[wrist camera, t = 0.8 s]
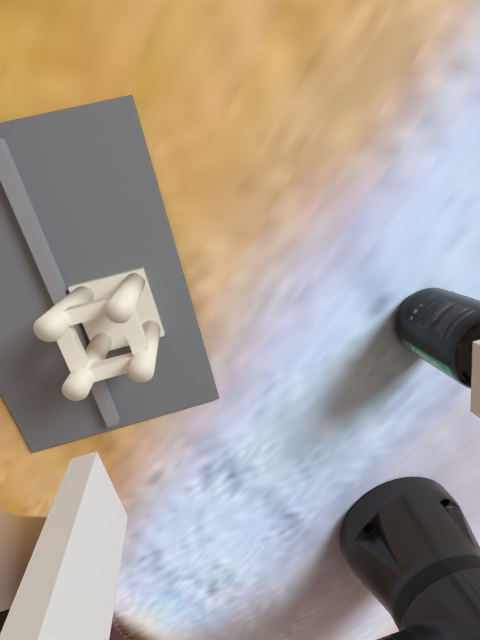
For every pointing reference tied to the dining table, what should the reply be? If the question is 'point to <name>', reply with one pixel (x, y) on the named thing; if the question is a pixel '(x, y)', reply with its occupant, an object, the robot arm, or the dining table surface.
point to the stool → (105, 330)
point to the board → (87, 269)
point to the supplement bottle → (441, 330)
